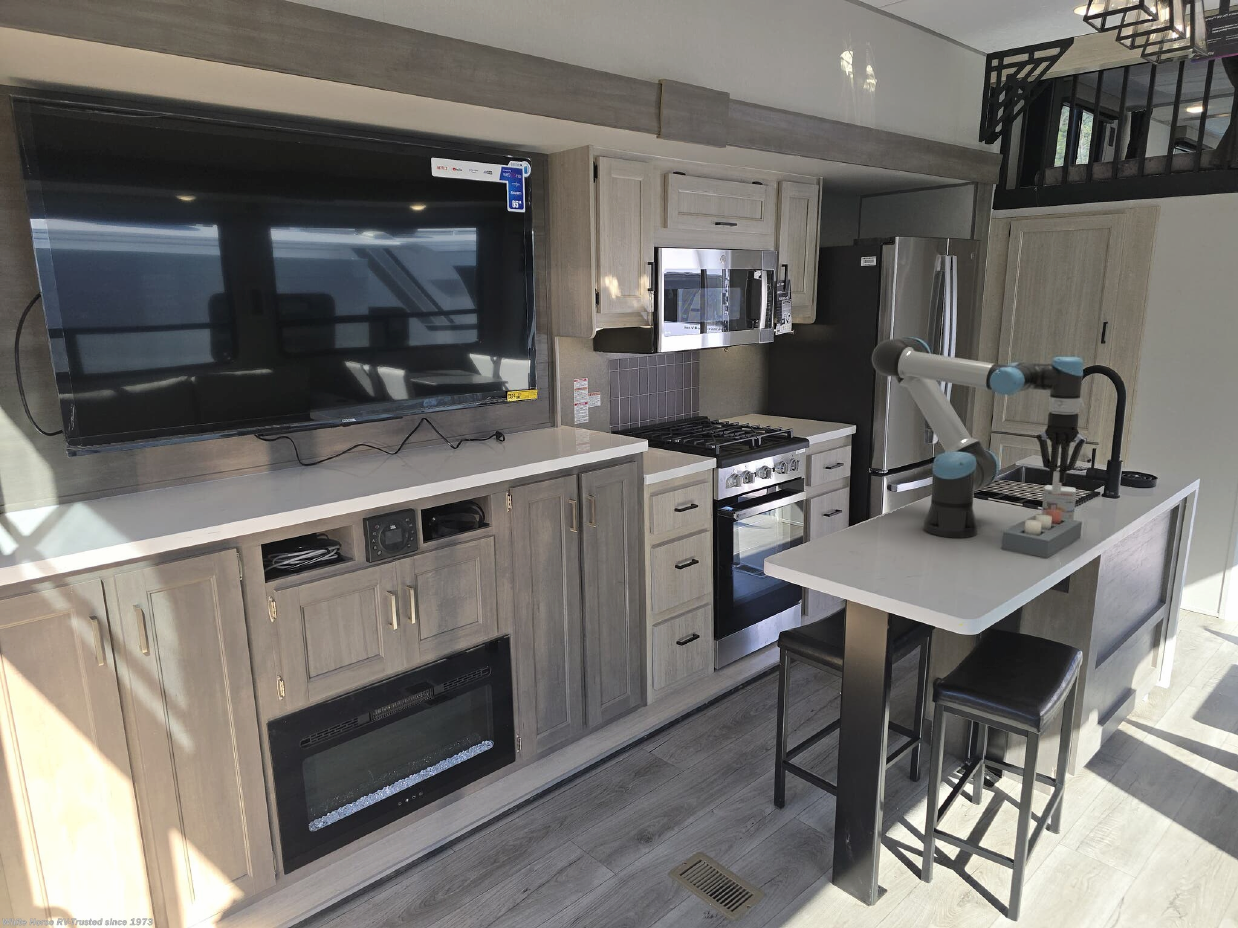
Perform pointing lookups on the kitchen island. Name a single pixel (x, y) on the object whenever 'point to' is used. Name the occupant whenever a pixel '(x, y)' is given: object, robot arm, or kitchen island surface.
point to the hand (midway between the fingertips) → (1056, 493)
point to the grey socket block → (1041, 538)
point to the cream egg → (1044, 521)
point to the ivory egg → (1033, 527)
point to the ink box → (1060, 501)
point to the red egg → (1054, 515)
